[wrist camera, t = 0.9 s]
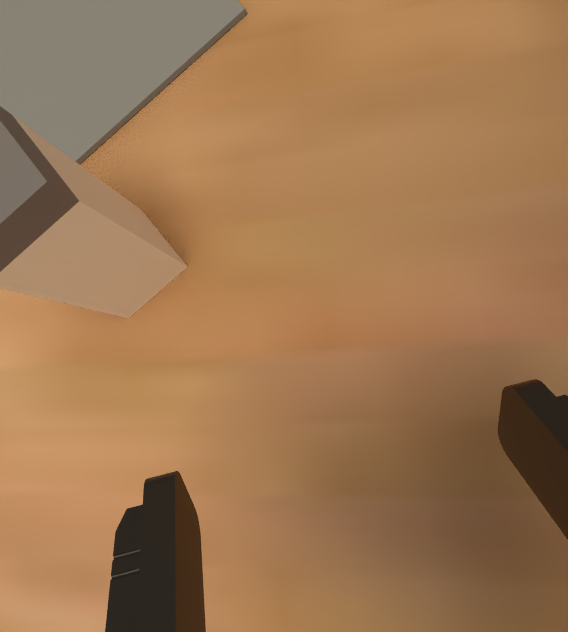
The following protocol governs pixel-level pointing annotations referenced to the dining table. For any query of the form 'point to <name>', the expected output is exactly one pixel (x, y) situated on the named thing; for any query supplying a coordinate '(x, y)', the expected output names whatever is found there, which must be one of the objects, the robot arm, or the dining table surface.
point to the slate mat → (98, 60)
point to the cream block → (73, 231)
